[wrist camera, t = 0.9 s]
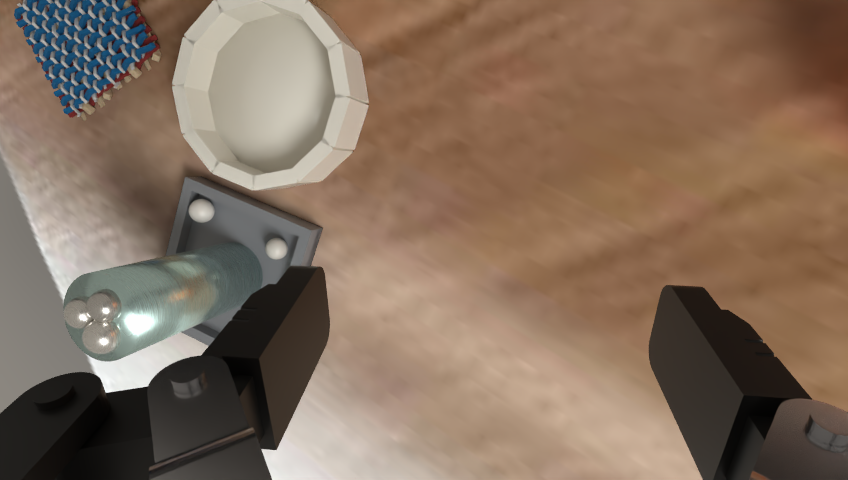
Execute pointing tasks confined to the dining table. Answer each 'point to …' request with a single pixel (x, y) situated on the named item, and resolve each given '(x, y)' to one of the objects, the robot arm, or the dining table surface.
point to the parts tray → (238, 236)
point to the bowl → (269, 92)
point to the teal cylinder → (157, 298)
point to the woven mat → (87, 47)
